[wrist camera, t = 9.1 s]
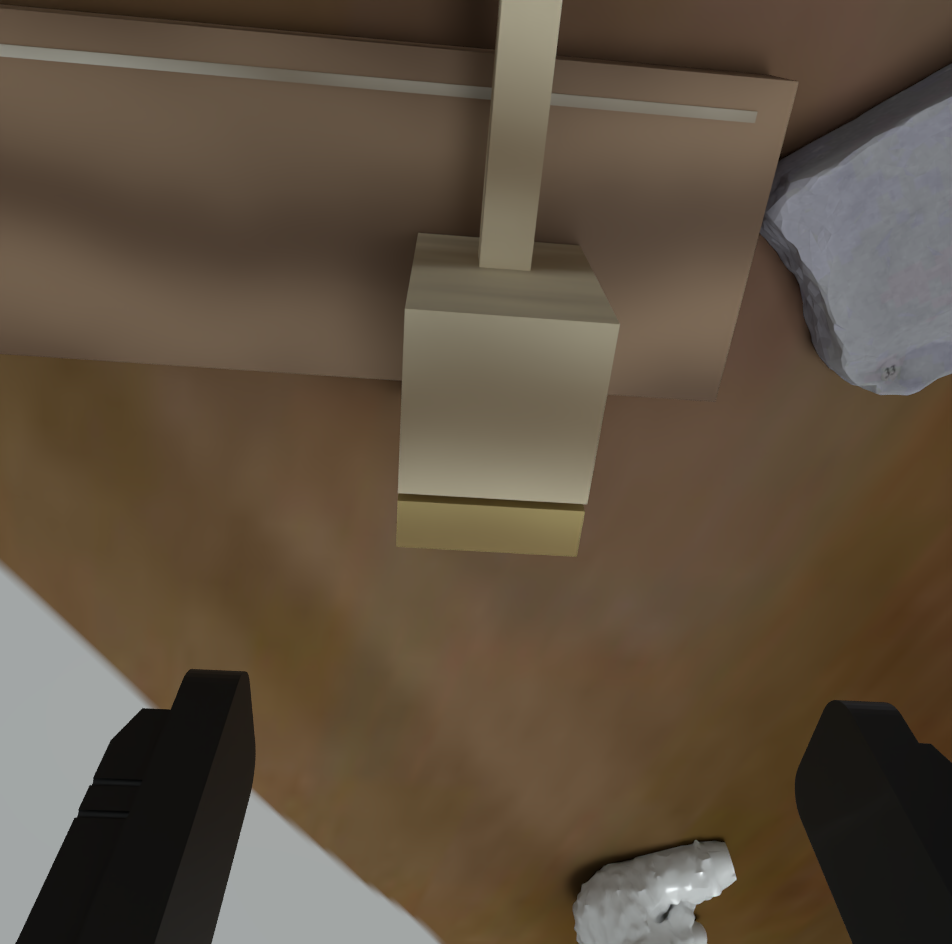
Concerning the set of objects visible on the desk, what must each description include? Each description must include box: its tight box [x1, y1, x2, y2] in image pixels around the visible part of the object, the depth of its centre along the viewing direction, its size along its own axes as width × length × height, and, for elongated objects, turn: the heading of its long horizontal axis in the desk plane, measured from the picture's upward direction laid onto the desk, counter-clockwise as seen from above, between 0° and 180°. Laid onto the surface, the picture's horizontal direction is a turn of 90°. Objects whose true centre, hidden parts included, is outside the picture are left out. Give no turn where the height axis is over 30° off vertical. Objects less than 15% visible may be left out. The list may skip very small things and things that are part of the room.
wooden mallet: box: [396, 0, 620, 557], centre depth 22 cm, size 15×5×9 cm, turn 175°
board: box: [0, 4, 799, 402], centre depth 25 cm, size 10×28×2 cm, turn 85°
